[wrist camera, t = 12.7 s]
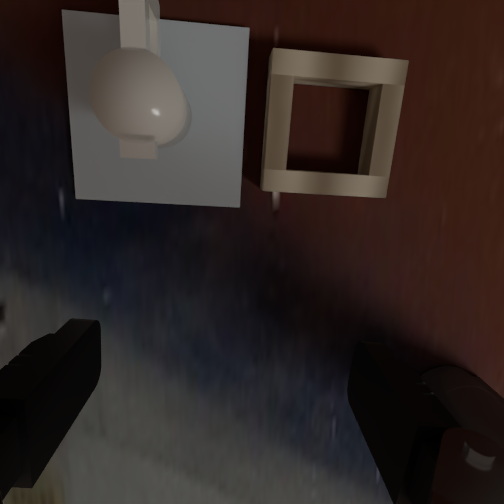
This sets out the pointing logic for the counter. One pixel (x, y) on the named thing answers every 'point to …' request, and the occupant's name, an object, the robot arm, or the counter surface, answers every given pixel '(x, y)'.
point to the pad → (202, 106)
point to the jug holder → (375, 128)
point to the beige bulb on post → (139, 87)
